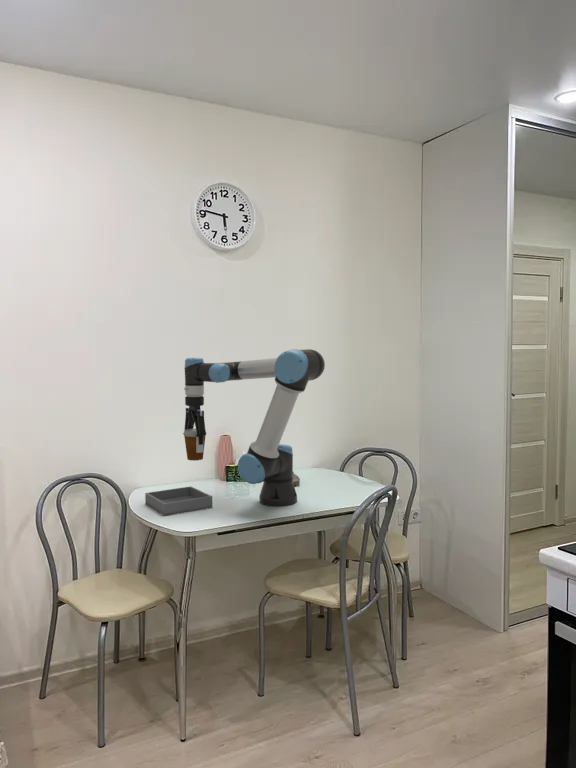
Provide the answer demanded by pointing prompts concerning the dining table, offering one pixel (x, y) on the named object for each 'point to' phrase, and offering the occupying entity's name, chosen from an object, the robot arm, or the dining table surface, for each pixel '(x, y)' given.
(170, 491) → the crate
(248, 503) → the dining table surface
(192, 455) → the disposable coffee cup
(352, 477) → the dining table surface
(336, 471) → the dining table surface
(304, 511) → the dining table surface
